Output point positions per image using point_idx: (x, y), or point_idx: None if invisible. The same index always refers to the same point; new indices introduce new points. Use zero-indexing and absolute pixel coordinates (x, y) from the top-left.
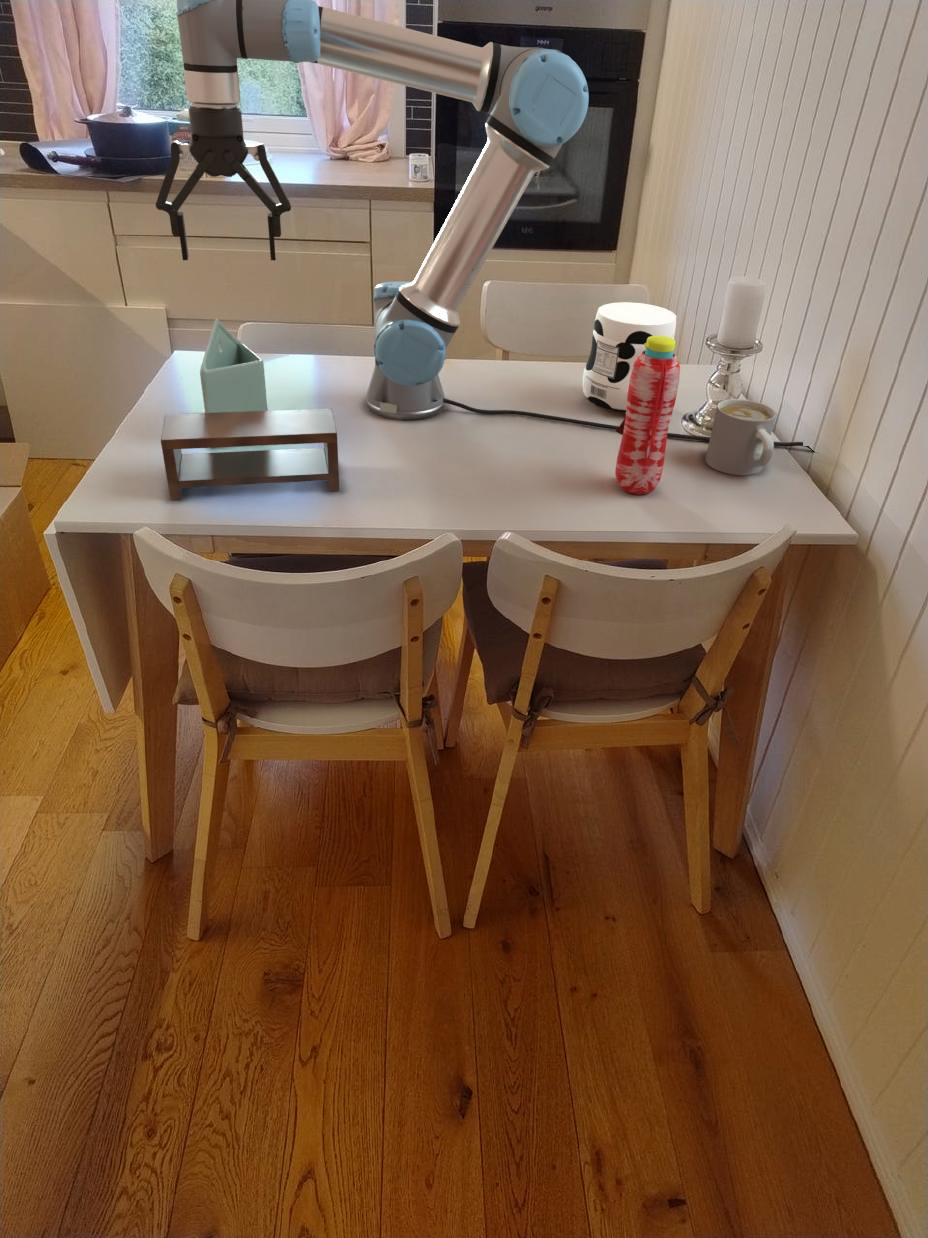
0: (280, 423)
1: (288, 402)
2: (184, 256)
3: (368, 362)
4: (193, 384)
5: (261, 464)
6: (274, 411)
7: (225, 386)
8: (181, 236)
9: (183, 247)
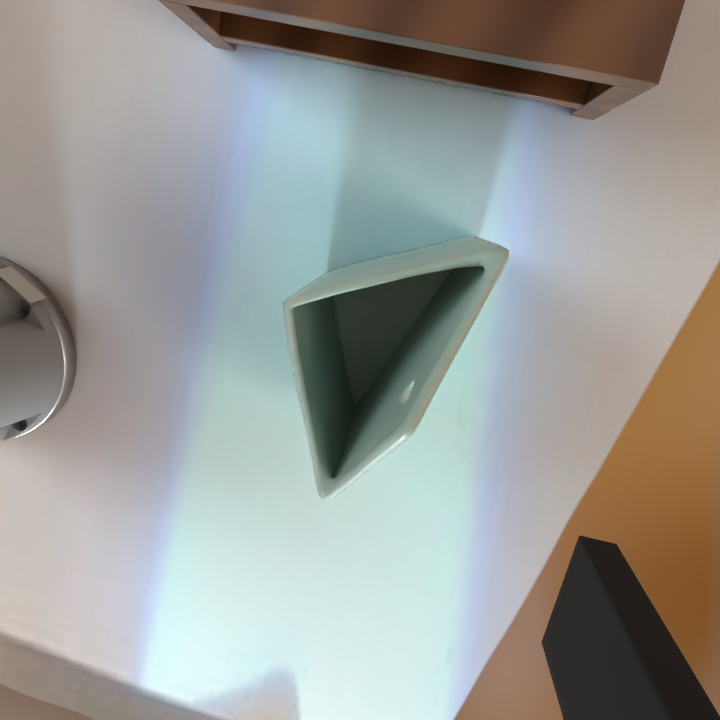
0: None
1: (246, 447)
2: (609, 555)
3: (30, 611)
4: (433, 612)
5: None
6: (320, 8)
7: (425, 257)
8: (684, 682)
9: (635, 600)
